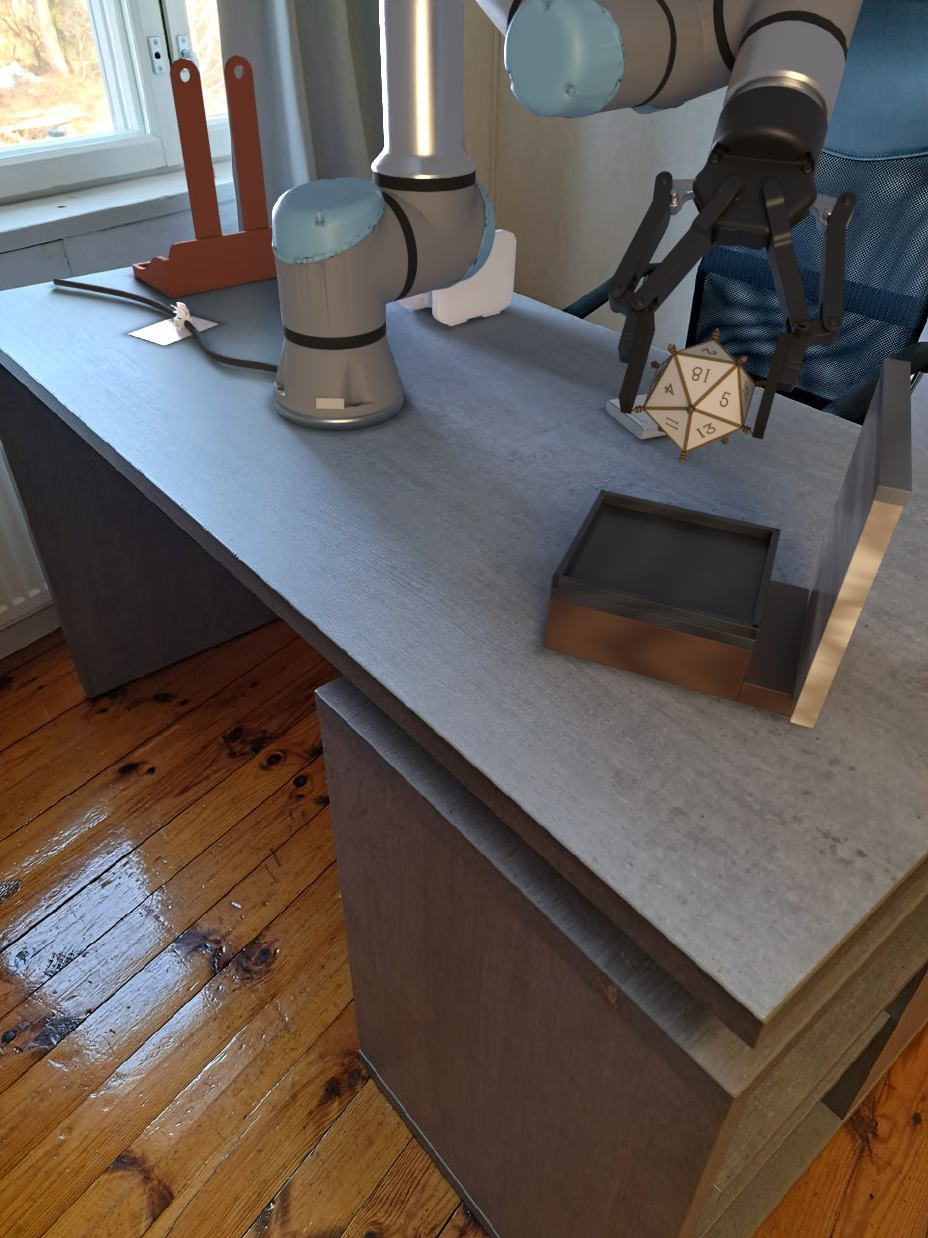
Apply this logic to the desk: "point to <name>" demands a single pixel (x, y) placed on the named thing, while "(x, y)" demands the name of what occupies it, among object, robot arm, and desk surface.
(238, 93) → the hanging shelf
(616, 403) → the hard drive
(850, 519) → the holder
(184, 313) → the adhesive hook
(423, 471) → the desk surface
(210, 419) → the desk surface
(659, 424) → the game die
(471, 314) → the cable organizer
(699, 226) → the robot arm
